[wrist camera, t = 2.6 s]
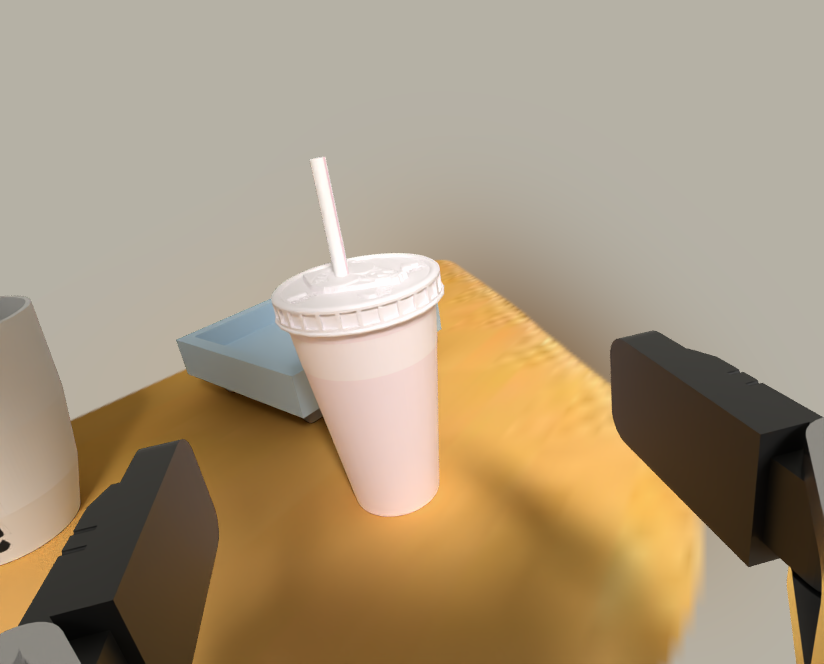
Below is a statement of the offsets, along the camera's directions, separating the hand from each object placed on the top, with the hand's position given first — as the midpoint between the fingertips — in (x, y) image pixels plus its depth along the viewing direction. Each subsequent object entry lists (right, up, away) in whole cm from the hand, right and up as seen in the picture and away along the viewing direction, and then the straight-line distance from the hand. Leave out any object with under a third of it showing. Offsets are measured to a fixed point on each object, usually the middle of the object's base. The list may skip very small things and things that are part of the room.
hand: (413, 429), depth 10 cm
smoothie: (-1, -5, +14) cm, 15 cm away
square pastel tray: (-6, -1, +25) cm, 26 cm away
